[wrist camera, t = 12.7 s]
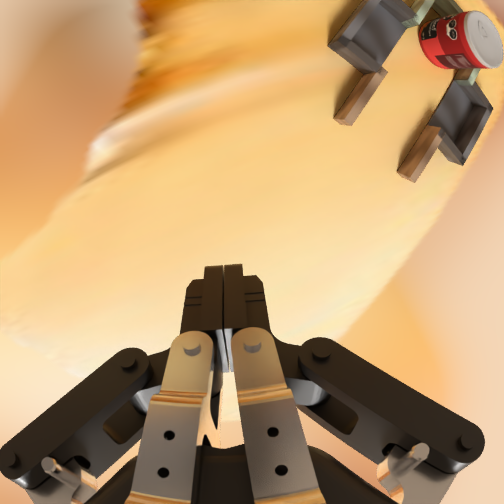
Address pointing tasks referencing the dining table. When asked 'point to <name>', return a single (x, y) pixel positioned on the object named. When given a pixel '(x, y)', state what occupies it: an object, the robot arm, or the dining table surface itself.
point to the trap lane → (370, 64)
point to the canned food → (462, 41)
